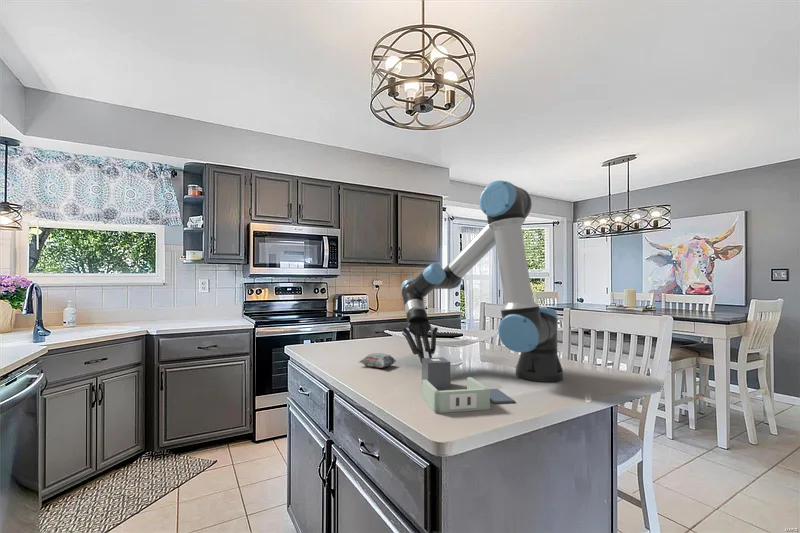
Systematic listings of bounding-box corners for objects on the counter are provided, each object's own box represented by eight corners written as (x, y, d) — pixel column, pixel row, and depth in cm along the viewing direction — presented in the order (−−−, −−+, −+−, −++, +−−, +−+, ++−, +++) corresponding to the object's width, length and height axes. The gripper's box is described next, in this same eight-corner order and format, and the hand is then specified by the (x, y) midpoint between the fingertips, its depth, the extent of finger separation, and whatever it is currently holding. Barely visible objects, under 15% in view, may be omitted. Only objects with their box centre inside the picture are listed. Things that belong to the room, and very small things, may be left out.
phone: (497, 392, 115) (497, 388, 115) (515, 405, 103) (515, 401, 103) (478, 393, 114) (478, 389, 114) (494, 406, 102) (494, 402, 102)
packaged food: (383, 371, 138) (383, 357, 138) (357, 367, 145) (357, 353, 145) (396, 367, 146) (397, 353, 146) (371, 363, 152) (371, 350, 152)
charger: (443, 382, 123) (443, 357, 124) (450, 388, 117) (450, 361, 117) (421, 383, 122) (421, 357, 122) (427, 390, 115) (427, 362, 115)
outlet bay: (471, 394, 110) (471, 377, 110) (490, 409, 98) (490, 389, 98) (422, 398, 107) (422, 379, 107) (435, 413, 95) (435, 392, 95)
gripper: (431, 320, 146) (445, 376, 130) (397, 321, 144) (407, 378, 127) (435, 307, 141) (450, 363, 125) (400, 308, 139) (411, 365, 122)
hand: (428, 371), depth 126 cm, fingers closed
